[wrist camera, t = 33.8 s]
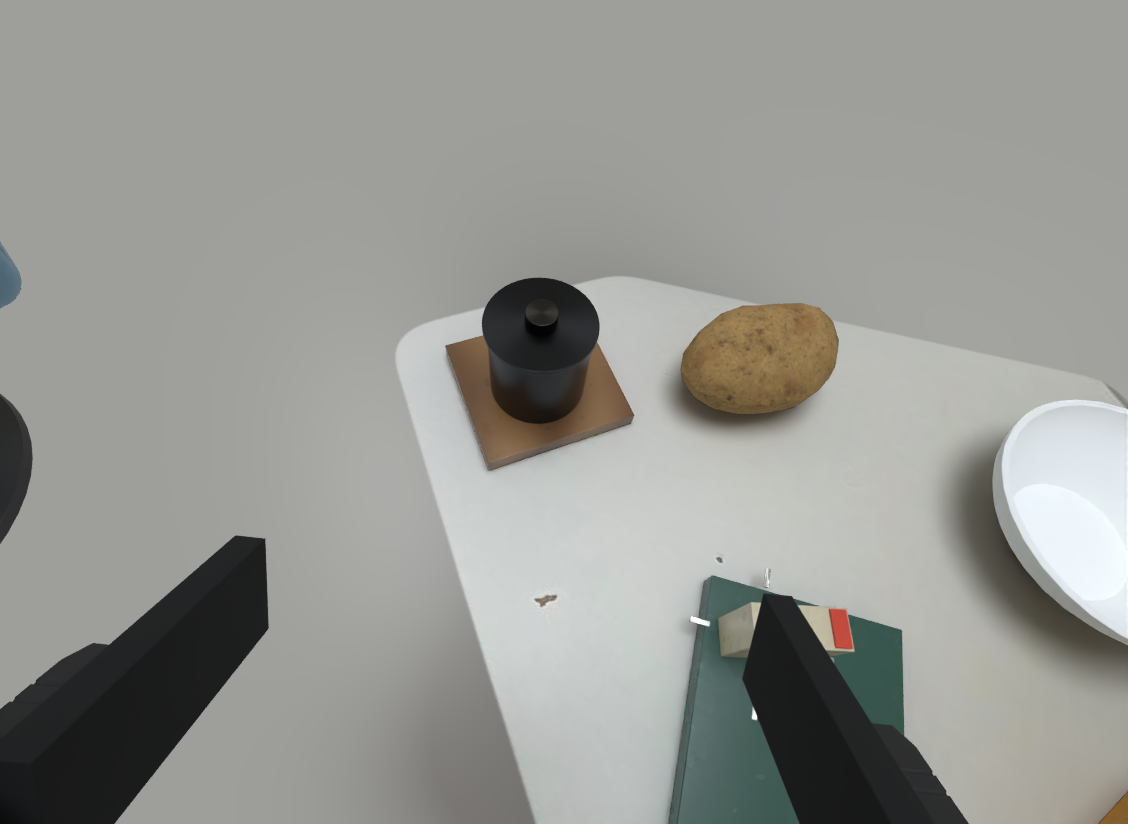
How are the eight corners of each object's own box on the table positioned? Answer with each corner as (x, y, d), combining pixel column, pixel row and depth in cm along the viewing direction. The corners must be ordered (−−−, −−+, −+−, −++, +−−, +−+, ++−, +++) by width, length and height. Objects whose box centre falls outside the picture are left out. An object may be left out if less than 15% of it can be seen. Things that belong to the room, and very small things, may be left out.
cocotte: (502, 438, 46) (498, 375, 38) (476, 353, 50) (468, 278, 41) (600, 413, 48) (619, 347, 39) (569, 333, 52) (579, 257, 43)
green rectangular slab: (644, 862, 35) (651, 870, 33) (693, 556, 44) (701, 549, 42) (889, 941, 34) (911, 955, 32) (886, 611, 43) (903, 607, 41)
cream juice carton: (720, 656, 39) (757, 645, 33) (717, 618, 40) (752, 601, 34) (805, 661, 39) (857, 651, 33) (800, 623, 40) (848, 607, 34)
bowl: (1236, 610, 45) (1346, 593, 39) (1064, 716, 41) (1159, 716, 35) (1055, 409, 53) (1124, 370, 47) (894, 478, 49) (947, 444, 43)
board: (488, 470, 46) (487, 463, 45) (446, 355, 51) (445, 345, 50) (631, 423, 49) (634, 415, 48) (578, 318, 54) (580, 308, 53)
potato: (648, 360, 53) (668, 305, 46) (777, 326, 56) (815, 270, 49) (693, 452, 48) (723, 407, 41) (830, 409, 52) (879, 360, 45)
